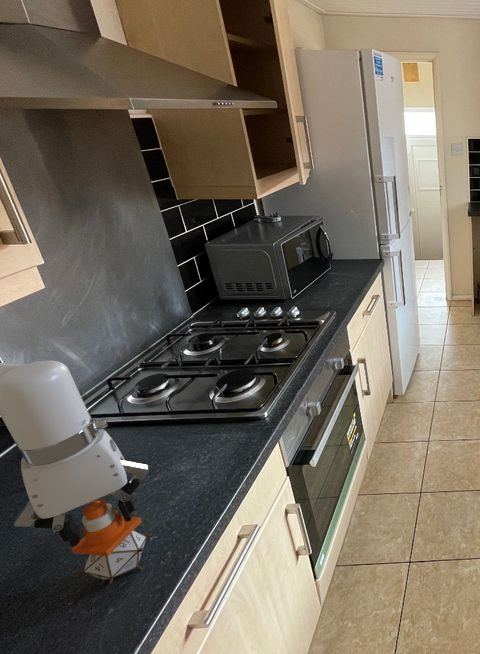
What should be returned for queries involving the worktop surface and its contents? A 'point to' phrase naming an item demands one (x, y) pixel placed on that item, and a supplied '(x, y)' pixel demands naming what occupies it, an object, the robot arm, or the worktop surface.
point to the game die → (117, 559)
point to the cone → (103, 529)
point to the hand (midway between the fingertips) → (103, 526)
